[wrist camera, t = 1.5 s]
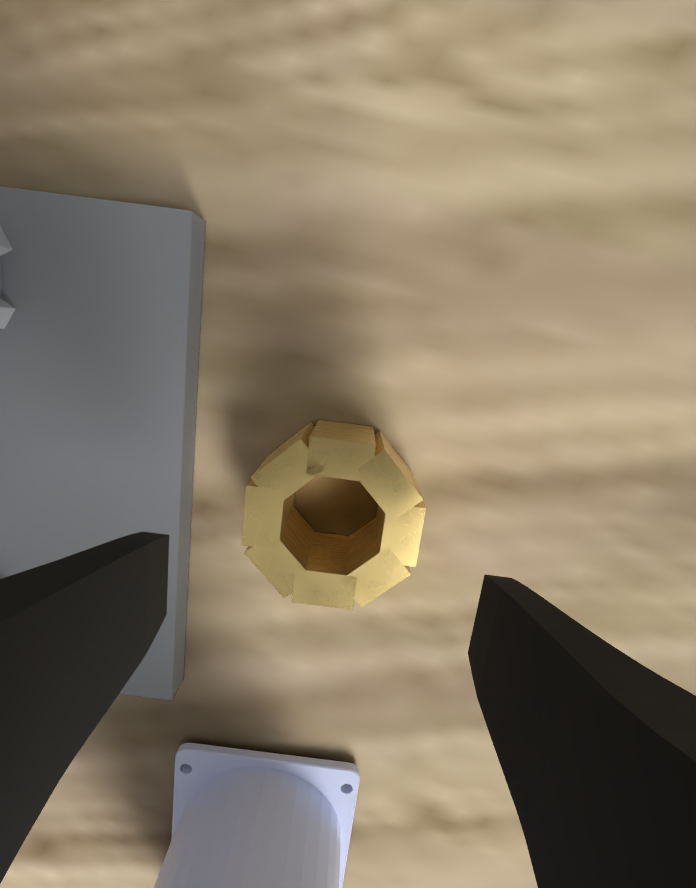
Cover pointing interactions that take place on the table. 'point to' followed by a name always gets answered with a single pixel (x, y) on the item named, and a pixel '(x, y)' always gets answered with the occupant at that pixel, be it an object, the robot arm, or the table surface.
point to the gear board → (100, 389)
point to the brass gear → (329, 555)
